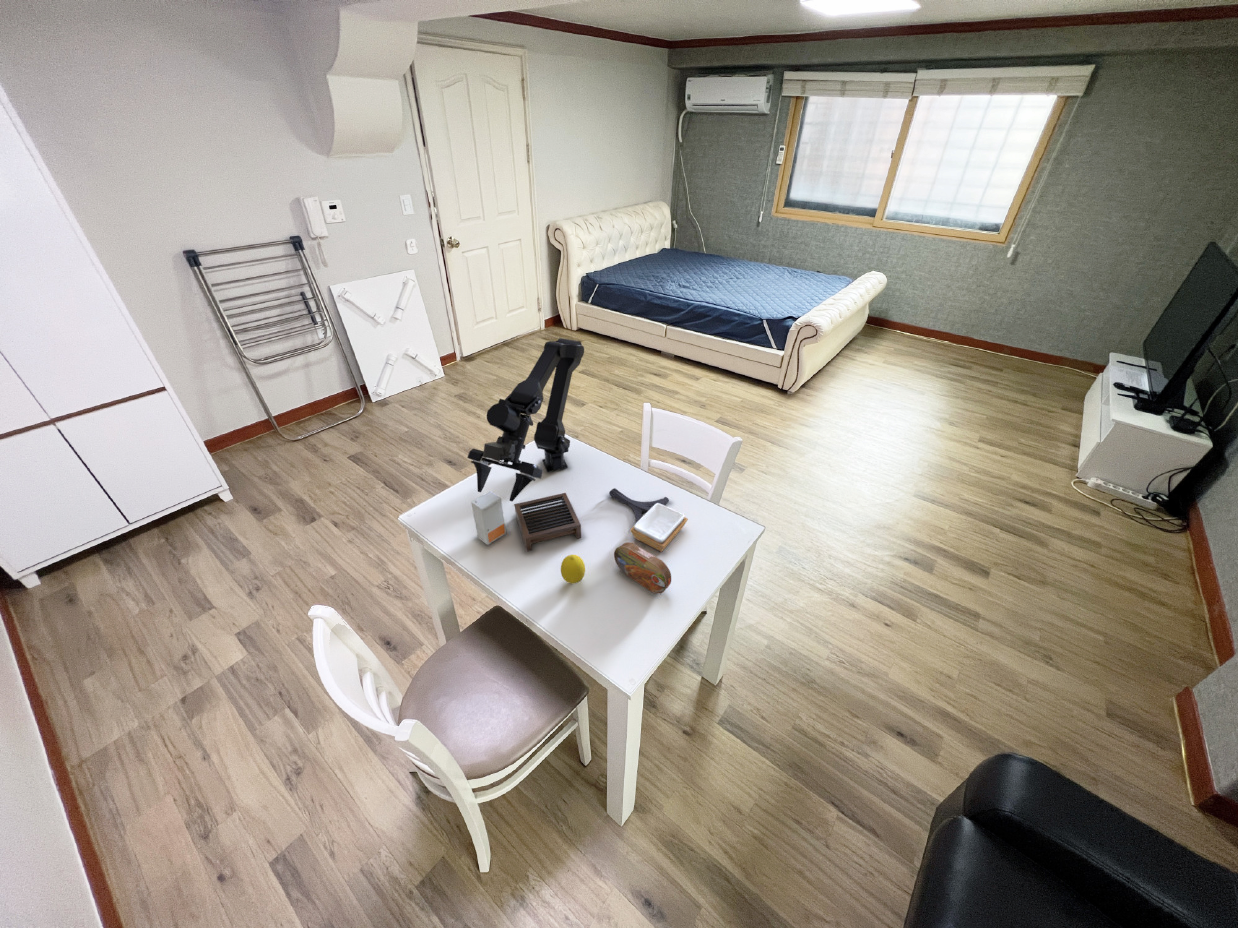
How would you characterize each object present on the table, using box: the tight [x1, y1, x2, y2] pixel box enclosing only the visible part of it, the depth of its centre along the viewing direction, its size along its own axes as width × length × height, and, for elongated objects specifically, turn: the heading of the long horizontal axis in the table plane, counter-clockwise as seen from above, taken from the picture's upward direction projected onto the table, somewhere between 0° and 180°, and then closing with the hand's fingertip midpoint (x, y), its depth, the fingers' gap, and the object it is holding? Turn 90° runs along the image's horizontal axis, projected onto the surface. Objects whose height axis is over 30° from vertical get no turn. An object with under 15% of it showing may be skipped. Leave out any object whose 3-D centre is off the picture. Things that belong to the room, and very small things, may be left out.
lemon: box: [560, 554, 586, 585], centre depth 111 cm, size 6×6×8 cm
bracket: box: [608, 487, 669, 525], centre depth 134 cm, size 14×15×3 cm
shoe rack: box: [513, 492, 582, 552], centre depth 126 cm, size 14×14×4 cm
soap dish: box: [629, 503, 689, 553], centre depth 124 cm, size 12×10×5 cm
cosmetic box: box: [470, 490, 507, 546], centre depth 121 cm, size 6×4×12 cm
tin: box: [613, 541, 672, 595], centre depth 111 cm, size 15×3×8 cm, turn 49°
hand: (494, 496), depth 121 cm, fingers open, 9 cm apart
